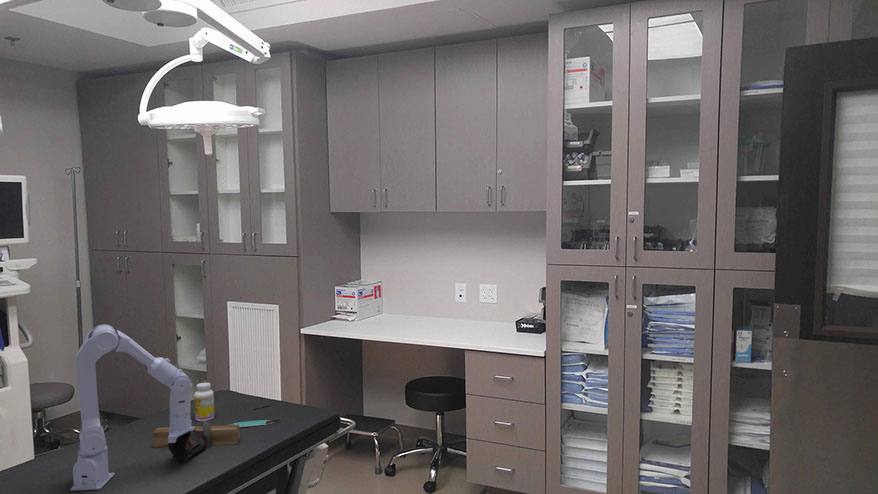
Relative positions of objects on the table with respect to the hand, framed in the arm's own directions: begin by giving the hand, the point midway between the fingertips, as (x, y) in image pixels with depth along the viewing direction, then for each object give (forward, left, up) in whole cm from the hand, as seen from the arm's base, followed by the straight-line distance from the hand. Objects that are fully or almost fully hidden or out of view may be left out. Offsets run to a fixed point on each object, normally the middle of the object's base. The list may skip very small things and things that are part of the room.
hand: (180, 457), depth 184 cm
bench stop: (+14, -1, -2) cm, 14 cm away
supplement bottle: (+38, +3, -2) cm, 38 cm away
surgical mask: (+30, -15, -2) cm, 34 cm away
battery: (+6, -1, -2) cm, 6 cm away
